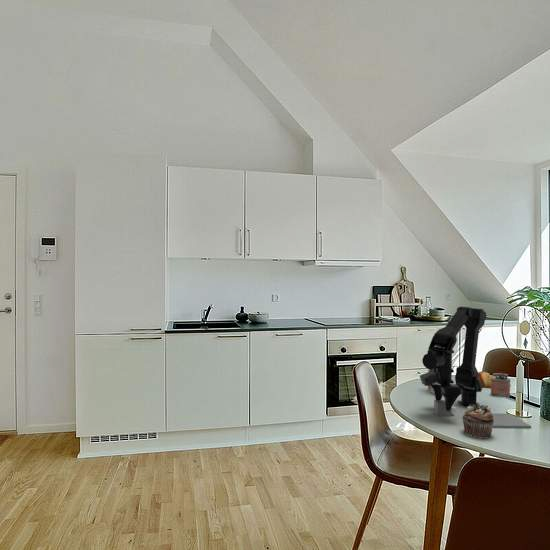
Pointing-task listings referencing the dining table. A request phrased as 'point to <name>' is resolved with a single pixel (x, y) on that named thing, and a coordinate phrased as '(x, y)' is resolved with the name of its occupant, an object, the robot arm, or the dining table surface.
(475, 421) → the cupcake
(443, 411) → the plug
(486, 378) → the croissant
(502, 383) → the lighter
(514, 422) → the coaster
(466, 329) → the robot arm
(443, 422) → the dining table surface
